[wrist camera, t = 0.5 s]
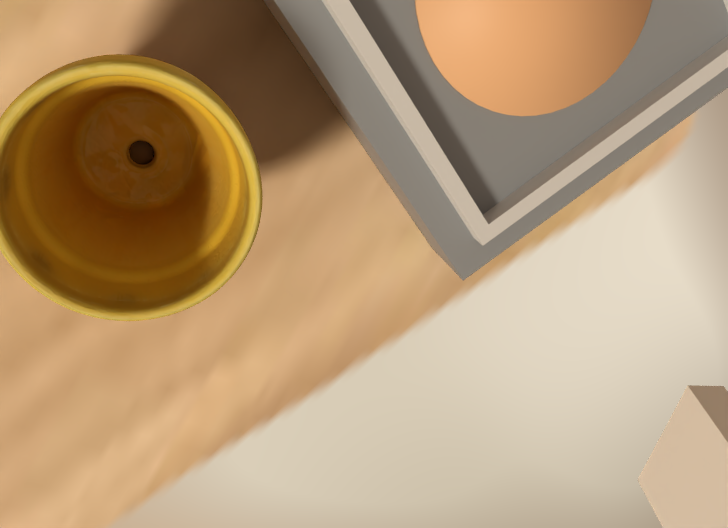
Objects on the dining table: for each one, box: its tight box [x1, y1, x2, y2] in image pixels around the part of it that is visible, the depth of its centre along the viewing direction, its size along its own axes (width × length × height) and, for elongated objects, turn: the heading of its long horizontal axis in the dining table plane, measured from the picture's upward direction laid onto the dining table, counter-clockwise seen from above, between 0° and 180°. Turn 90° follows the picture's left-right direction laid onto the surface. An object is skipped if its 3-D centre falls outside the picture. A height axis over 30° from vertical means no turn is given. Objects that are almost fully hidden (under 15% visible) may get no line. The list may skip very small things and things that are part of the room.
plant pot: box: [0, 54, 262, 321], centre depth 31 cm, size 10×10×10 cm
